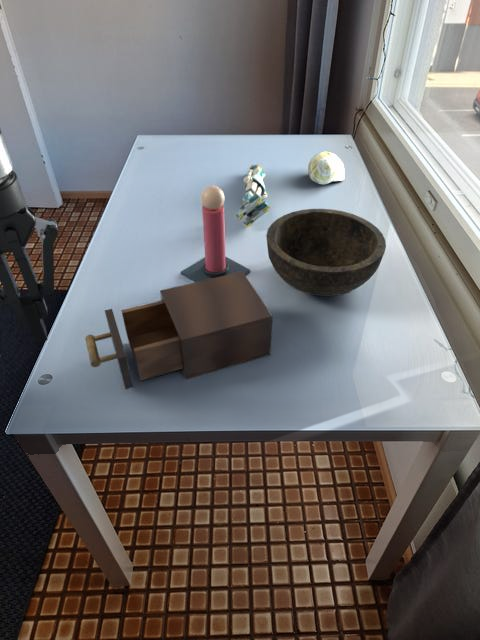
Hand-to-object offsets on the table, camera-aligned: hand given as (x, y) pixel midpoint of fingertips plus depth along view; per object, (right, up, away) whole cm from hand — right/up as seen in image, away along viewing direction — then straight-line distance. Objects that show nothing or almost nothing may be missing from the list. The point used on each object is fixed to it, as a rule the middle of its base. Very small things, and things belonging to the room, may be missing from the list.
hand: (41, 334), depth 67 cm
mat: (+23, +12, +29) cm, 39 cm away
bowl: (+44, +10, +27) cm, 52 cm away
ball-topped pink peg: (+23, +12, +29) cm, 39 cm away
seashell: (+51, +40, +61) cm, 89 cm away
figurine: (+31, +32, +52) cm, 68 cm away
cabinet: (+24, -2, +14) cm, 28 cm away
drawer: (+13, -4, +10) cm, 17 cm away
